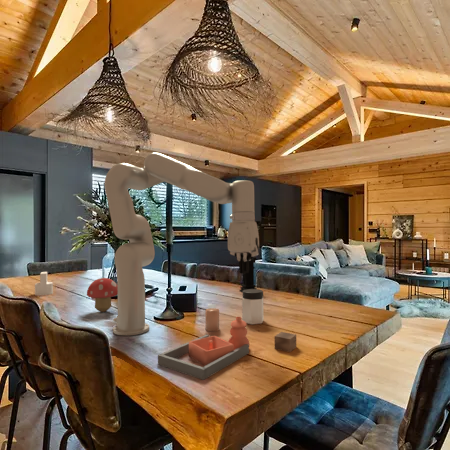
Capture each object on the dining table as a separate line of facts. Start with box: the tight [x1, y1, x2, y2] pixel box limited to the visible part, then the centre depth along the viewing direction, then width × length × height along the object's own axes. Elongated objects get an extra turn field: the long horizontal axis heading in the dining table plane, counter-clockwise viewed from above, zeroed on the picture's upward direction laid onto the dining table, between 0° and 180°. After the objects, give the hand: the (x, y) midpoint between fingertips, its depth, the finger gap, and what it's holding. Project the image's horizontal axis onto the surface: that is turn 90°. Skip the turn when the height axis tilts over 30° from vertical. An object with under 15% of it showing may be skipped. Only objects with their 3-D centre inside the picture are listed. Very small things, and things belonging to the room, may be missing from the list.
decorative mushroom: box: [86, 277, 118, 313], centre depth 146 cm, size 13×13×15 cm
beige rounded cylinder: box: [204, 307, 220, 332], centre depth 120 cm, size 5×5×7 cm
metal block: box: [274, 331, 297, 353], centre depth 101 cm, size 5×5×4 cm
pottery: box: [188, 316, 250, 366], centre depth 97 cm, size 18×10×10 cm, turn 126°
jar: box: [241, 288, 264, 325], centre depth 130 cm, size 9×8×12 cm
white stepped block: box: [34, 271, 54, 296], centre depth 187 cm, size 9×9×12 cm
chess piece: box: [239, 256, 257, 294], centre depth 190 cm, size 8×8×20 cm
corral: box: [157, 334, 250, 381], centre depth 93 cm, size 16×21×2 cm
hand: (244, 272), depth 110 cm, fingers closed
